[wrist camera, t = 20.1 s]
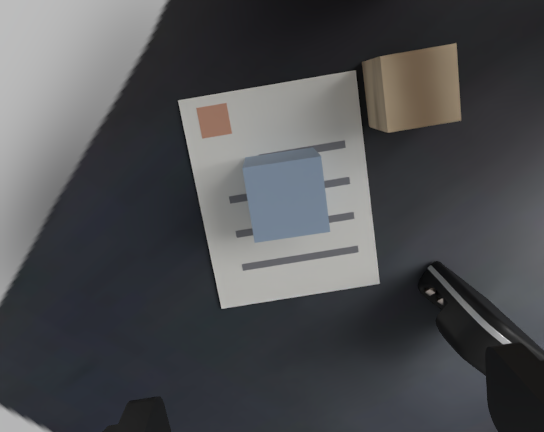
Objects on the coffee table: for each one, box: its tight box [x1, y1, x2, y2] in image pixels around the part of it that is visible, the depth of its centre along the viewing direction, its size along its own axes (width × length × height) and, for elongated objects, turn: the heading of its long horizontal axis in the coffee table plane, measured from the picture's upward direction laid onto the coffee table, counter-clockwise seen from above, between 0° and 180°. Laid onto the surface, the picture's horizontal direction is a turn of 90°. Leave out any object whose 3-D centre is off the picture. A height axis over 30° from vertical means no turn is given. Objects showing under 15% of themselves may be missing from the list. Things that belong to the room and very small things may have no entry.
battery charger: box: [418, 261, 544, 376], centre depth 36 cm, size 7×4×11 cm, turn 52°
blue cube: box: [242, 147, 330, 243], centre depth 36 cm, size 6×6×6 cm
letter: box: [178, 70, 380, 309], centre depth 39 cm, size 14×18×1 cm
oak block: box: [362, 43, 461, 133], centre depth 34 cm, size 5×5×6 cm
